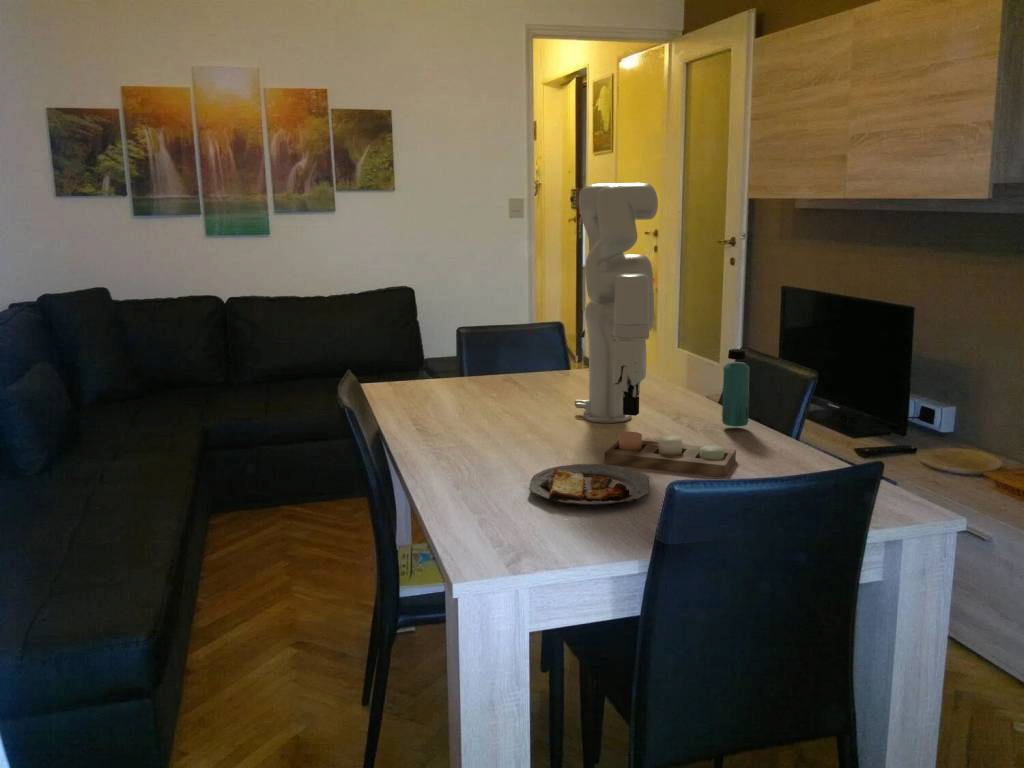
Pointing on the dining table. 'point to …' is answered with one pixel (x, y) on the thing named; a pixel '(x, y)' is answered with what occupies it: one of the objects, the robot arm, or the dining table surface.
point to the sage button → (712, 453)
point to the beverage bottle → (736, 390)
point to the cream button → (670, 445)
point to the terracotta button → (630, 441)
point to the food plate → (570, 485)
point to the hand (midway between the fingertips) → (631, 414)
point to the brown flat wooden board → (671, 459)
